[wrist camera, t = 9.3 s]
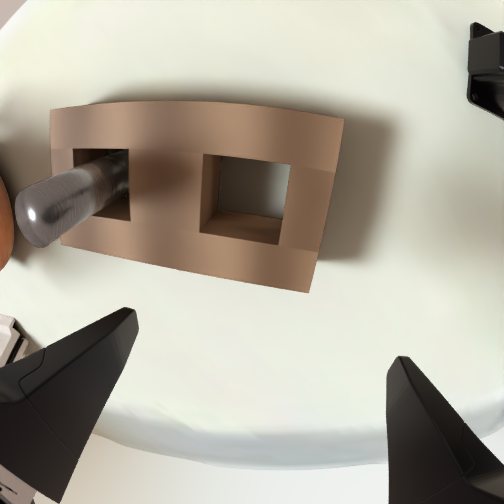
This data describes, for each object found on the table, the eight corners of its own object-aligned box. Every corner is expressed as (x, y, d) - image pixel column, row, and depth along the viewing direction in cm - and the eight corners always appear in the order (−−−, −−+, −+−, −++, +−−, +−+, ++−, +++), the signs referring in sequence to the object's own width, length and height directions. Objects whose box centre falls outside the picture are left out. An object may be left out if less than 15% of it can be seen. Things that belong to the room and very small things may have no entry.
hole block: (335, 117, 16) (344, 119, 13) (308, 261, 21) (308, 293, 17) (85, 105, 18) (50, 109, 14) (90, 224, 23) (61, 244, 19)
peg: (149, 149, 19) (47, 190, 10) (149, 189, 20) (57, 252, 12) (115, 148, 19) (11, 187, 10) (115, 186, 21) (21, 242, 12)
